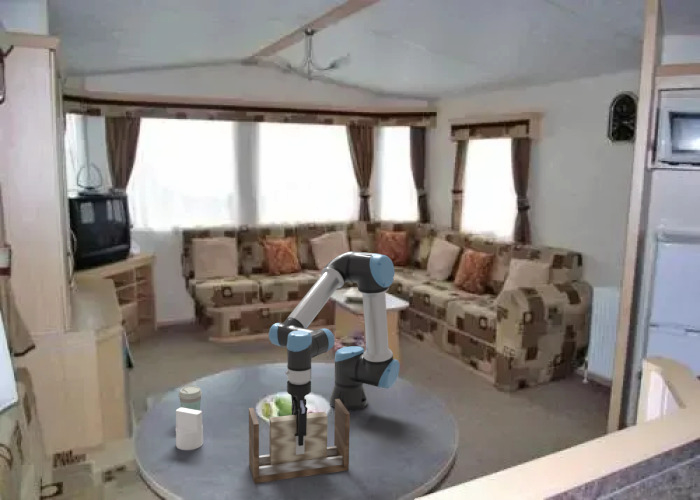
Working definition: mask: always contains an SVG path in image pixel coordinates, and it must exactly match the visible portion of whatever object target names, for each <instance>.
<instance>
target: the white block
mask: <svg viewBox="0 0 700 500" xmlns="http://www.w3.org/2000/svg"><path fill="white" fill-rule="evenodd" d="M203 444H204V426H203V411H202V410H200V411H199V410H193V409H188V408H182V407H181V406H180V407H179V408H177V409H176V410H175V445H176V446H175V447H176V448H177V449H179V450H181V451H194V450H196V449H199V448H200V447H202V445H203Z"/></svg>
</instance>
